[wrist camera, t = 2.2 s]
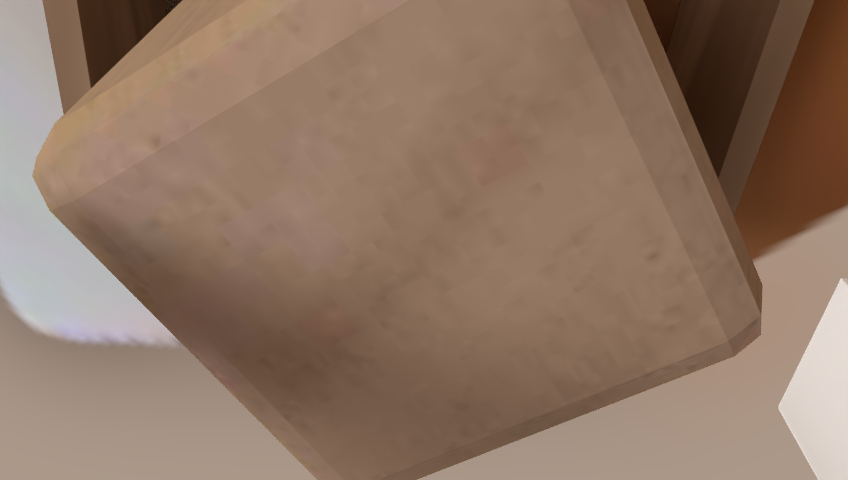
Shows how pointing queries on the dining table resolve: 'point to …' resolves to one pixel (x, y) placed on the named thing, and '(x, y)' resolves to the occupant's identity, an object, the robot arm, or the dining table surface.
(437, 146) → the block
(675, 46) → the bracket
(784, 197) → the dining table surface
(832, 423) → the robot arm
